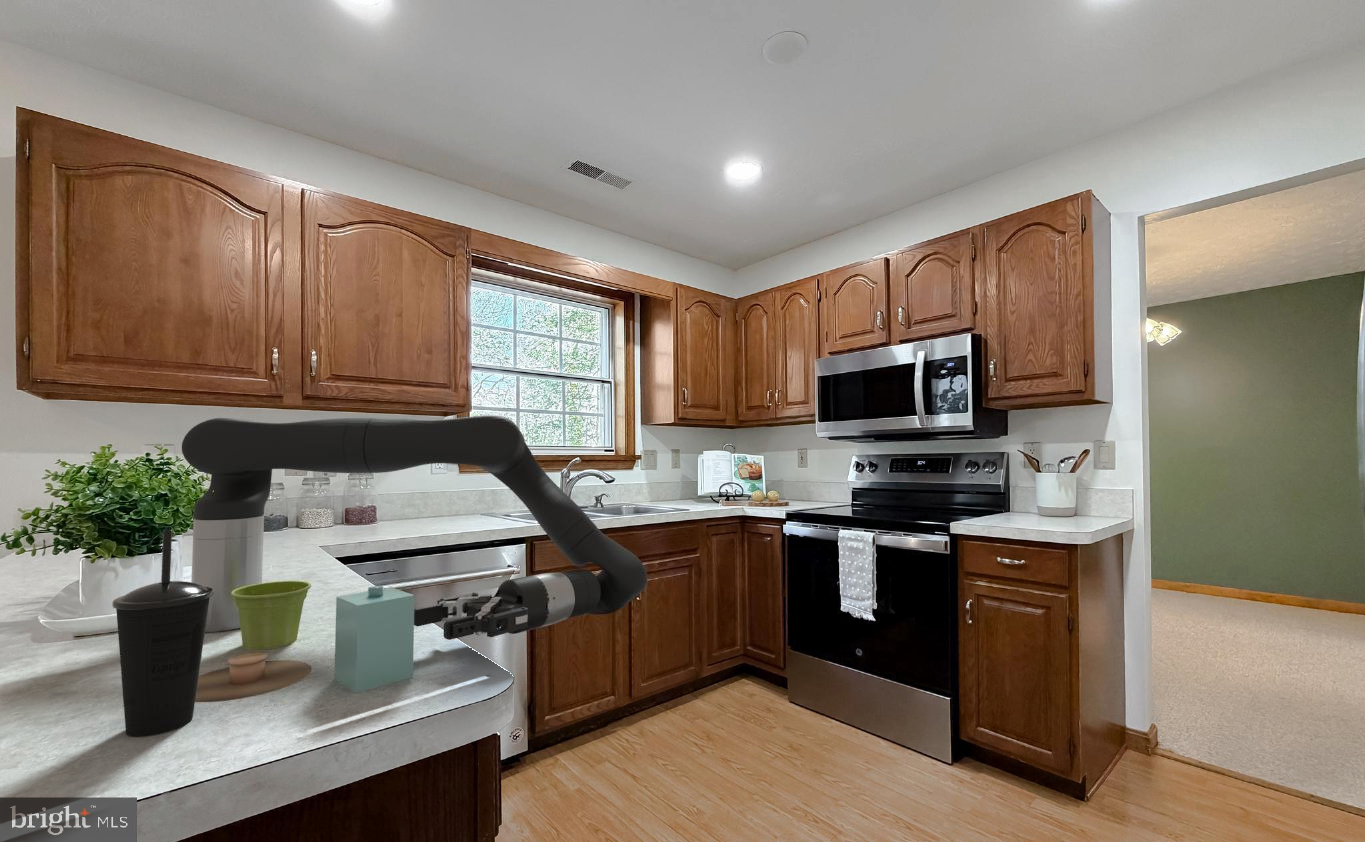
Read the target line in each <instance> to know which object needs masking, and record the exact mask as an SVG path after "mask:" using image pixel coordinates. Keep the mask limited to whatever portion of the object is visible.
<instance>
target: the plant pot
mask: <svg viewBox="0 0 1365 842" xmlns="http://www.w3.org/2000/svg"><path fill="white" fill-rule="evenodd" d="M311 588H312V583H311V582H309V581H303V580H279V581H269V582H268V581H267V582H262V583H260V584H254V585H249V586H244V587H241V588H238V589H235V590H233V591H232V592H231V595H232V596H233V597H235V603H236V606H237V607H238V611H239V619H240V627H241V628H240V636H241V642H242V648H243V649H244V650H247V651H264V650H272V649H277V648H281V647H285V646H288V645H291V644H293V643H295V642H297V640H298V637H299V636H298V634H299V628H300V624H301V617H302V613H303V607H304V602H305V600H306V598H307V596H308V592H309V589H311Z"/></svg>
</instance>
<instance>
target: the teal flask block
mask: <svg viewBox="0 0 1365 842" xmlns="http://www.w3.org/2000/svg"><path fill="white" fill-rule="evenodd" d="M367 589H368V590H367V591H362V592H355V593H350V594H344V595H337V596H336V600H335V601H336V602H335V603H336V605H335V635H334V636H335V640H334V641H335V642H334V643H335V644H334V645H335V646H334V680H335V681H336V682H337V683H340V684H341V685H342V686H344V687H345V688H347V689H348V690H350V691H351V692H353V693H354V694H359V693H362V692H365V691H369V690H373V689H376V688H379V687H383V686H387V685H390V684H394V683H398V682H401V681H406V680H409V679H412V678H414V645H415V643H414V640H415V638H414V636H415V635H414V634H415V631H414V630H415V626H414V609H415V594H412V593H409V592H406V591H403V590H401V589H397V588H394V587H387V588H384V586H383V585H374V586H373V585H372V586H369V587H368V588H367Z"/></svg>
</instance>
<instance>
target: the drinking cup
mask: <svg viewBox="0 0 1365 842" xmlns="http://www.w3.org/2000/svg"><path fill="white" fill-rule="evenodd" d="M172 538H173V529H166V530H163V531H162V551H161V552H162V553H161V556H162V557H161V558H162V559H161V579H160V582H155V583H151V584H147V585H144V586H141V587H138V588H136V589H133V590H132V591H129V592H128V593H126V594H125V595H122V596H120V597H117V598H115V599H114V600H113V601H112V604H111V605H112V608H113V609H116V623H117V635H118V637H117V638H118V647H119V648H118V649H119V660H120V661H119V663H120V674H121V687H122V699H123V700H122V702H123V710H124V711H123V713H124V714H123V715H124V725H125V735H126V736H128V737H131V738H145V737H153V736H159V735H162V734H167V733H170V732H172V731H176V730H178V729H180V728H183V727H185V726H187V725H188V724H190V723H191V722H192V721H193V719H194V718H193V717H194V710H195V703H196V702H195V697H196V691H197V684H198V677H199V676H200V669H201V668H200V667H201V662H202V654H203V649H204V648H203V647H204V639H205V633H206V632H205V628H206V621H207V614H208V607H209V600H210V597H211V596H212V595H213V593H214V590H213V589H212V588H210V587H204V586H201V585H199V584H196V583H191V581H182V580H181V581H180V580H171V572H172V571H171V567H172V565H171V564H172V543H173V542H172V540H173V539H172Z"/></svg>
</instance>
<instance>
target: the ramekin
mask: <svg viewBox="0 0 1365 842" xmlns="http://www.w3.org/2000/svg"><path fill="white" fill-rule="evenodd" d="M267 658H268V653H267V652H264V651H263V652H262V651H254V652H246V653H243V654H238V655H234V656H232V657H230V658H228V660H227V665H229V667H230V678H229V683H230V684H247V683H251V682H255V681H258V680H260V679H262V678H264V677H265V661H266V659H267Z"/></svg>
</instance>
